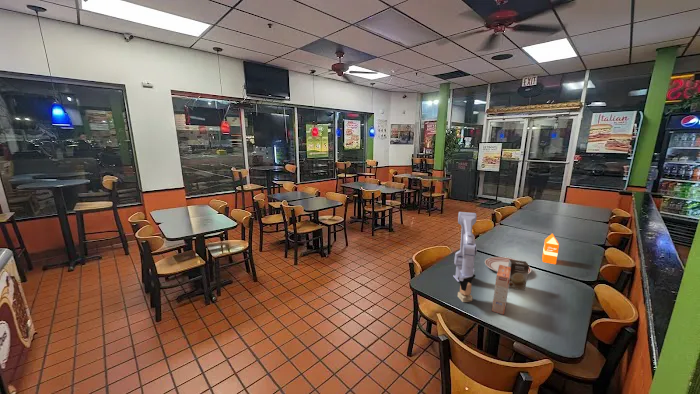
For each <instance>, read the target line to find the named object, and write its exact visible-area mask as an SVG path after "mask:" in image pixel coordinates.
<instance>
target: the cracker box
mask: <svg viewBox="0 0 700 394" xmlns="http://www.w3.org/2000/svg"><path fill="white" fill-rule="evenodd" d="M510 273H511V267H508V266H503V265H499V268H498V272H496V277H495V285H494V292H493V299H492V308H491V312H494V313H497V314H499V315H502V316H504V315H505V310H506V305H507V299H508V293H509V289H510V288H509V281H510Z"/></svg>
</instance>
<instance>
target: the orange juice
mask: <svg viewBox="0 0 700 394" xmlns="http://www.w3.org/2000/svg"><path fill="white" fill-rule="evenodd" d="M559 248H560V244H559V241H558V240H557V238H556V237H555V234H553V233H551V234H550V235H548V236H547V237H546V238H544V244H543V250H542V257H541V259H542V263H546V264H552V265H556V264H557V259H558V254H559Z"/></svg>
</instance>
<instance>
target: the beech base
mask: <svg viewBox="0 0 700 394" xmlns="http://www.w3.org/2000/svg"><path fill="white" fill-rule="evenodd" d="M457 298H458V299H459V300H460V301H461V302H462V303H468V302H473V299H474V298H473V295H471V294H469V295H464V294H462V293H461V292H460V291H457Z"/></svg>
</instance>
